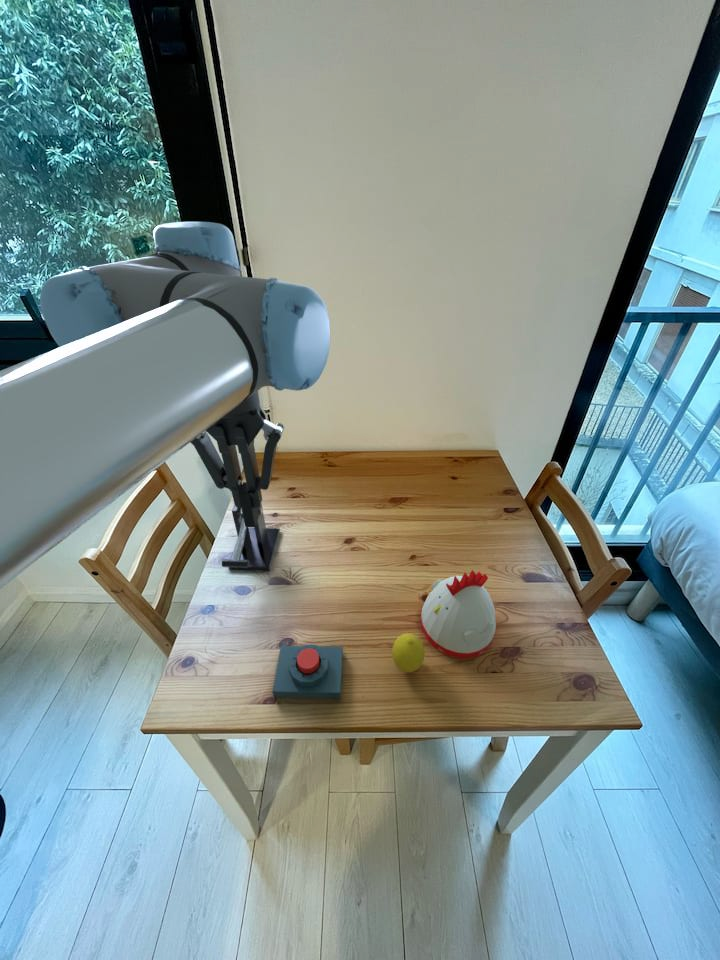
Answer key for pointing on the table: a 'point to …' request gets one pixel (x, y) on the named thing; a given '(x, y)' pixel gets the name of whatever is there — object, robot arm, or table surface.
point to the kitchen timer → (459, 616)
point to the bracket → (256, 543)
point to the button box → (309, 685)
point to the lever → (238, 549)
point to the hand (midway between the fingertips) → (252, 520)
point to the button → (308, 661)
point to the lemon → (408, 652)
